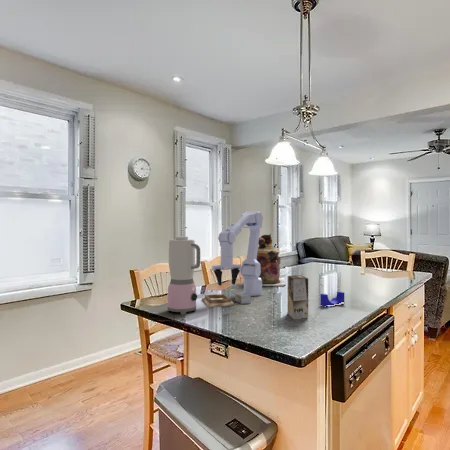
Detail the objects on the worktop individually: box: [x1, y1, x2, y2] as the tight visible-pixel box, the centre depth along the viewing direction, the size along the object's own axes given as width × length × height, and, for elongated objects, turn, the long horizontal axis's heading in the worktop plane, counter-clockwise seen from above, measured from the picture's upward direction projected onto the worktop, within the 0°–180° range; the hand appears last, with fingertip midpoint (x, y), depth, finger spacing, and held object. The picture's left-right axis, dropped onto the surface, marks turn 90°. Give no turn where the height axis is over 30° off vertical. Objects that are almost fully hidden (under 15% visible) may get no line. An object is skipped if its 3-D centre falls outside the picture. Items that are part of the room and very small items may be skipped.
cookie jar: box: [253, 233, 287, 287], centre depth 216 cm, size 25×25×32 cm
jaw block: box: [234, 292, 252, 305], centre depth 163 cm, size 5×7×4 cm
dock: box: [201, 293, 235, 308], centre depth 162 cm, size 12×16×3 cm
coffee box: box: [287, 274, 309, 320], centre depth 138 cm, size 9×6×16 cm
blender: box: [167, 236, 201, 315], centre depth 145 cm, size 16×12×32 cm
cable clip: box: [319, 290, 345, 307], centre depth 157 cm, size 12×4×6 cm, turn 119°
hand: (226, 284), depth 163 cm, fingers open, 7 cm apart
